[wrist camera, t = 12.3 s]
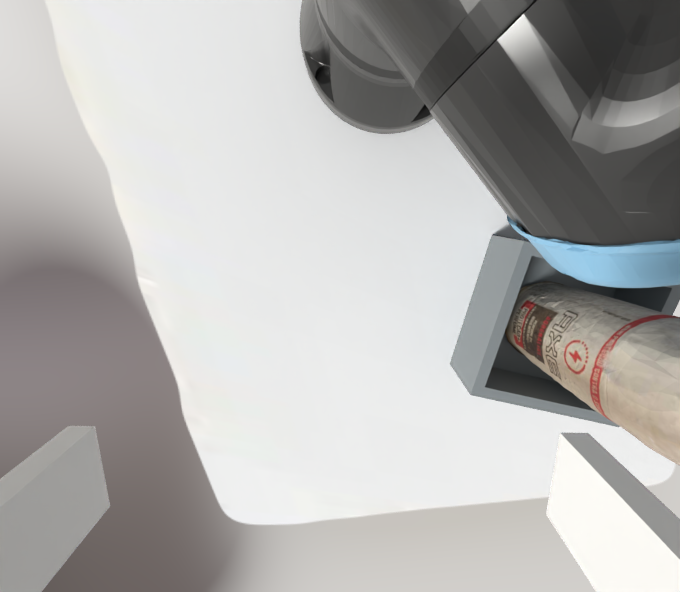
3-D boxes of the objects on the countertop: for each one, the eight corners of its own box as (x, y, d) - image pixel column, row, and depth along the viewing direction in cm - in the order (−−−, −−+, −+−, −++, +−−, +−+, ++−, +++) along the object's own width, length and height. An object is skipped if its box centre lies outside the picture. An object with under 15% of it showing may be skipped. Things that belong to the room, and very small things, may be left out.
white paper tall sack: (536, 260, 34) (786, 329, 15) (603, 302, 35) (924, 420, 16) (484, 331, 36) (645, 476, 16) (549, 370, 37) (775, 550, 17)
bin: (491, 235, 35) (524, 240, 28) (627, 266, 35) (689, 279, 29) (449, 363, 38) (470, 394, 32) (574, 391, 38) (619, 427, 32)
